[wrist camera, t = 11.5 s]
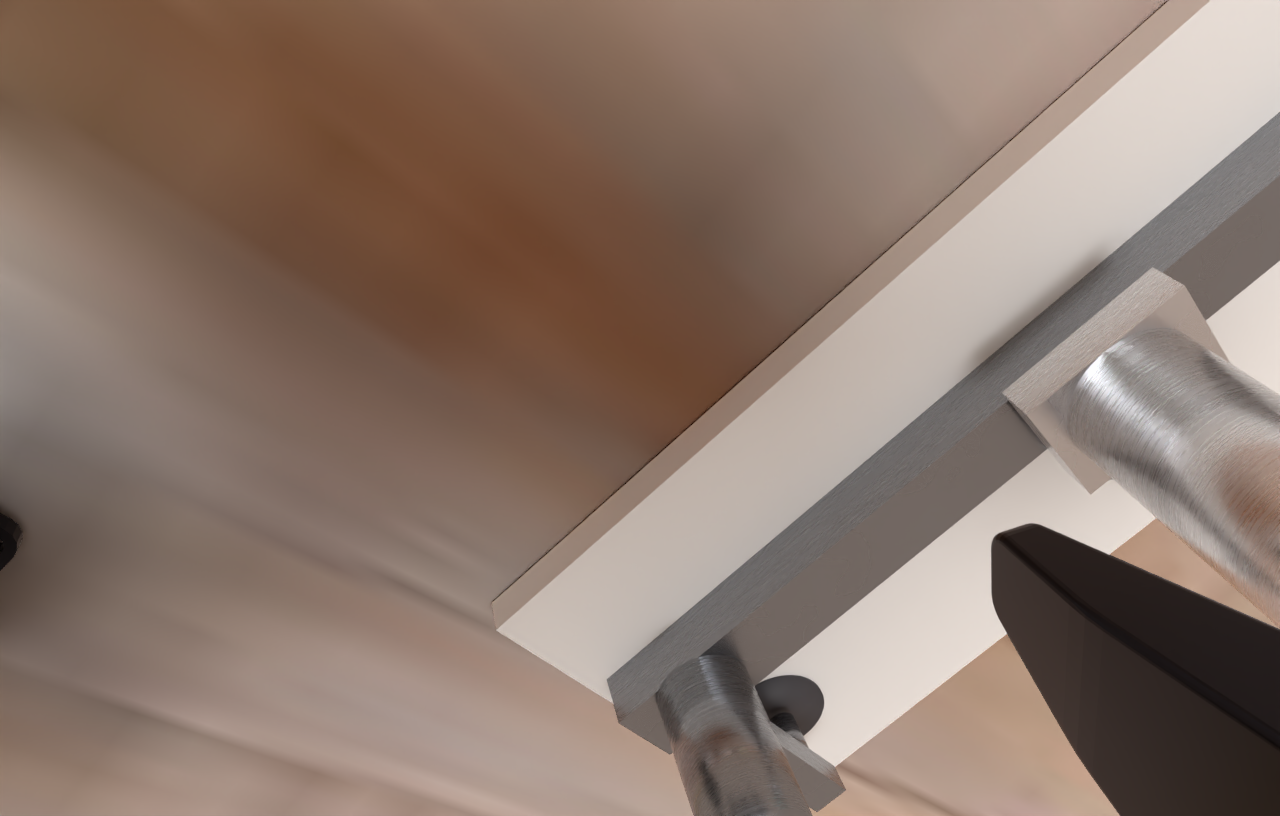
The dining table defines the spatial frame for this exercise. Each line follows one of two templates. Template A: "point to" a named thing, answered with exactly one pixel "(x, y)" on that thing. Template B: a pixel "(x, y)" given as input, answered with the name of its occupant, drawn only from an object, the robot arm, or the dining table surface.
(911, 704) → the bolt plate
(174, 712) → the dining table surface
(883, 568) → the rail
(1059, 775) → the dining table surface
